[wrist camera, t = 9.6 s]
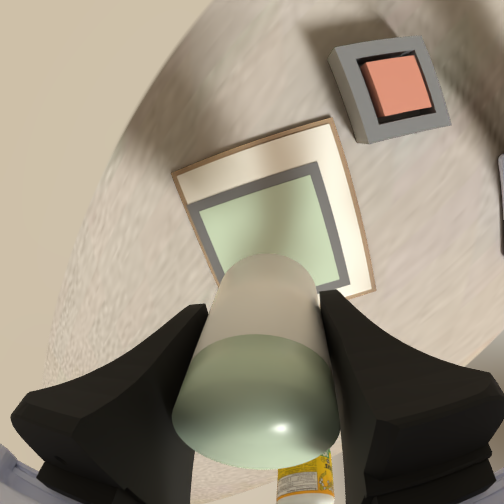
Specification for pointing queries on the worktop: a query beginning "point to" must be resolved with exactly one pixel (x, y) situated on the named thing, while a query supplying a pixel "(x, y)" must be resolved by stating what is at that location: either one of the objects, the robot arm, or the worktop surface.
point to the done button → (395, 85)
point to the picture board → (281, 207)
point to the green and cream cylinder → (260, 371)
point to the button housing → (358, 98)
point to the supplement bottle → (307, 482)
